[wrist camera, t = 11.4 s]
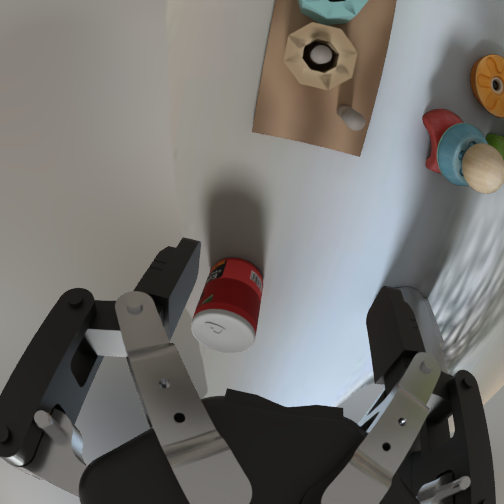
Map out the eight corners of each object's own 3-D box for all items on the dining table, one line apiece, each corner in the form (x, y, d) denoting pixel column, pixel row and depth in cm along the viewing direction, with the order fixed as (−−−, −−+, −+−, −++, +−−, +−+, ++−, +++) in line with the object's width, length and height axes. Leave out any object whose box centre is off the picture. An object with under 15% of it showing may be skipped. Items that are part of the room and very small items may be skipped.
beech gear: (350, 39, 23) (360, 34, 19) (339, 91, 27) (347, 95, 22) (291, 26, 23) (291, 18, 19) (281, 78, 27) (279, 79, 23)
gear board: (396, -24, 18) (422, -43, 12) (357, 153, 31) (373, 177, 25) (287, -52, 18) (285, -82, 12) (253, 129, 32) (242, 147, 25)
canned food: (217, 248, 42) (196, 304, 33) (271, 267, 42) (264, 326, 33) (205, 286, 46) (185, 342, 37) (254, 302, 47) (244, 360, 38)
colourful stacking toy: (511, 54, 19) (576, 66, 9) (522, 173, 28) (575, 217, 18) (397, 59, 24) (450, 60, 14) (423, 195, 33) (466, 251, 23)
